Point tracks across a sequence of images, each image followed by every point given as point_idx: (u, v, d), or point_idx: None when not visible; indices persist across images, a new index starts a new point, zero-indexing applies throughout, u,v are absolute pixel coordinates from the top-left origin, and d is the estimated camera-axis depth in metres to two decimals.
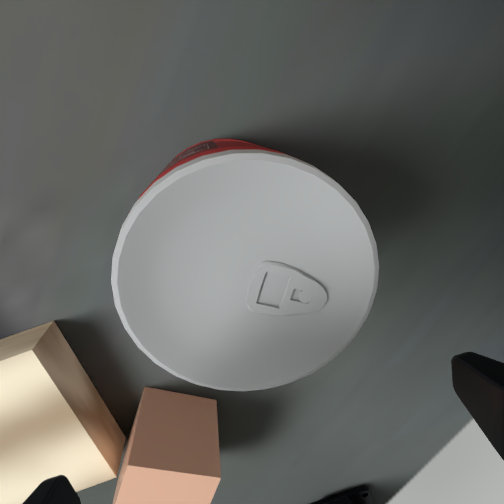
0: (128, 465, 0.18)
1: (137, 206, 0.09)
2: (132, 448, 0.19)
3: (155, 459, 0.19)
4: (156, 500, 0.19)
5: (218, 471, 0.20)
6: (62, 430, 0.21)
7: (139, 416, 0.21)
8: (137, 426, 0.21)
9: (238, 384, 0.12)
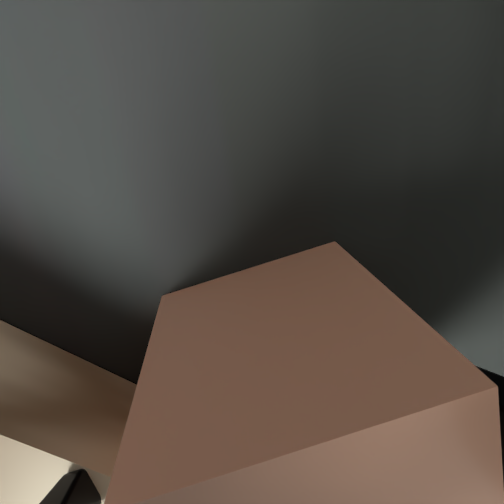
0: None
1: None
2: (125, 441, 0.05)
3: (209, 439, 0.05)
4: None
5: (467, 369, 0.05)
6: None
7: (149, 350, 0.07)
8: (143, 374, 0.07)
9: None
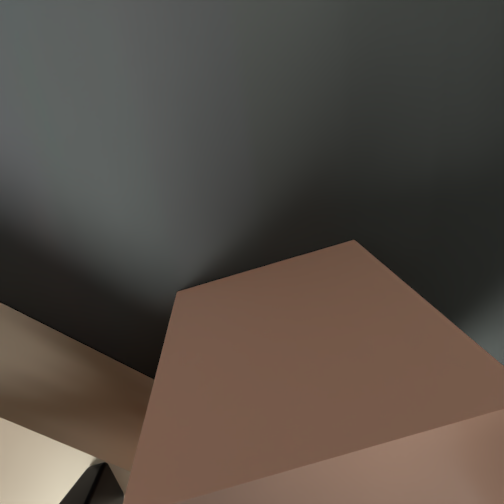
0: None
1: None
2: (142, 442, 0.05)
3: (229, 444, 0.05)
4: None
5: None
6: (15, 468, 0.07)
7: (165, 348, 0.07)
8: (160, 373, 0.07)
9: None
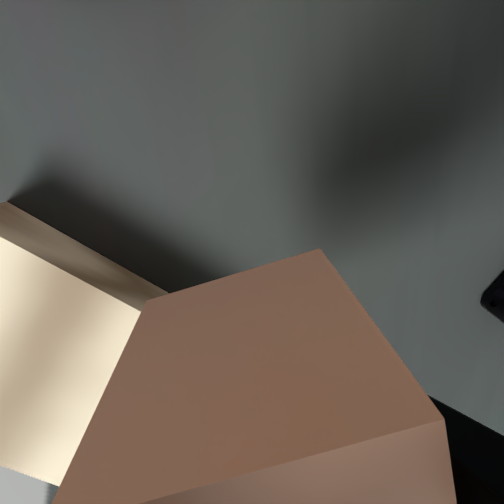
0: None
1: None
2: (77, 455, 0.05)
3: (153, 458, 0.05)
4: None
5: (417, 397, 0.04)
6: (88, 311, 0.15)
7: (121, 359, 0.07)
8: (110, 384, 0.07)
9: None
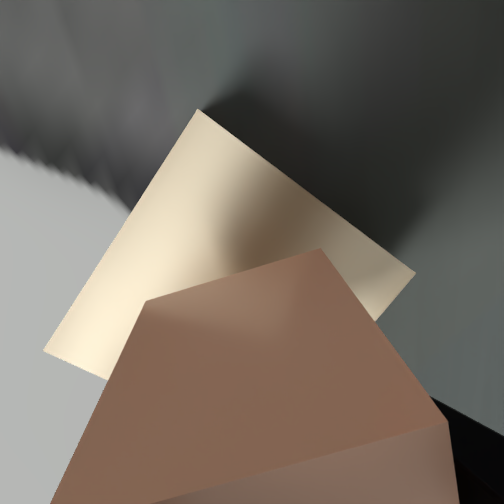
0: None
1: None
2: (75, 457, 0.05)
3: (152, 461, 0.05)
4: None
5: (420, 399, 0.04)
6: (308, 231, 0.13)
7: (120, 360, 0.07)
8: (109, 385, 0.07)
9: None
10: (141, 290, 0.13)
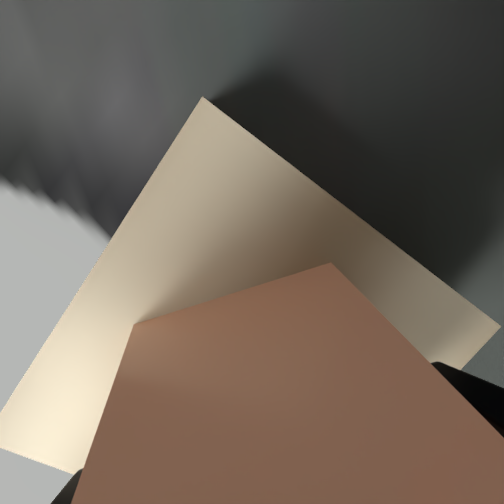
0: None
1: None
2: None
3: None
4: None
5: None
6: (359, 273, 0.09)
7: (110, 403, 0.06)
8: (98, 439, 0.05)
9: None
10: (121, 357, 0.09)
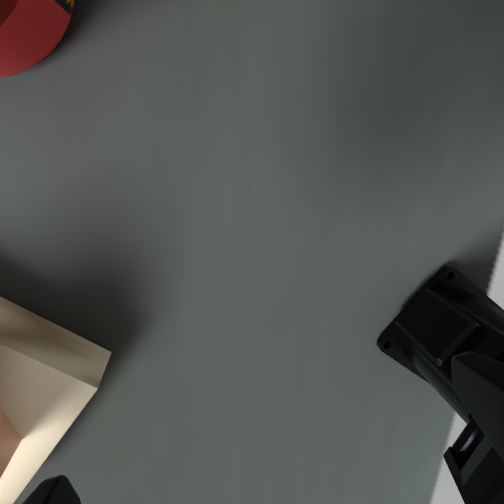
0: None
1: None
2: None
3: None
4: None
5: None
6: None
7: None
8: None
9: None
10: None
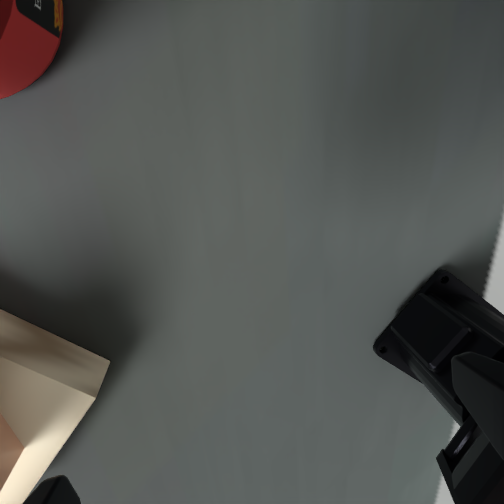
0: None
1: None
2: None
3: None
4: None
5: None
6: None
7: None
8: None
9: None
10: None
